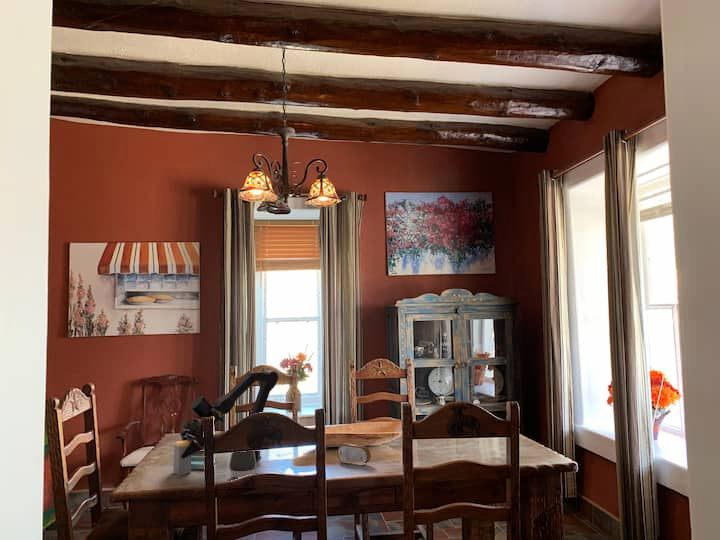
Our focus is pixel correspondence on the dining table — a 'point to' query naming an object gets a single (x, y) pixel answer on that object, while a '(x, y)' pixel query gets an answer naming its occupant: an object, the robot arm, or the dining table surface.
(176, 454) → the caddy
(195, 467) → the tray
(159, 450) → the dining table surface
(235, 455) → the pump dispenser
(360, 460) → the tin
